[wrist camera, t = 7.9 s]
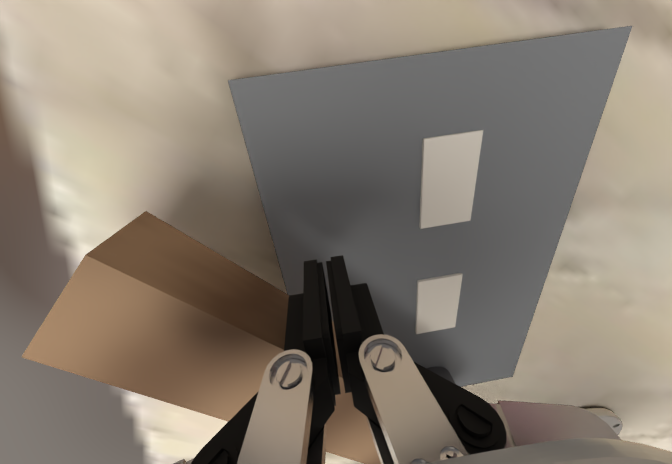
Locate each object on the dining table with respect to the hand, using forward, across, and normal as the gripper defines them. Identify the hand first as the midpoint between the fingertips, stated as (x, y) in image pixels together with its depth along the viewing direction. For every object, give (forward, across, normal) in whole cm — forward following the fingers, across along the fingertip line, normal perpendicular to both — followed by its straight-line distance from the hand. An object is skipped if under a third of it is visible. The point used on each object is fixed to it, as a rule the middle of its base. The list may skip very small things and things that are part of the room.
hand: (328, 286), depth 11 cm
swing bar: (+1, 0, +7) cm, 7 cm away
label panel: (+6, -6, +5) cm, 10 cm away
